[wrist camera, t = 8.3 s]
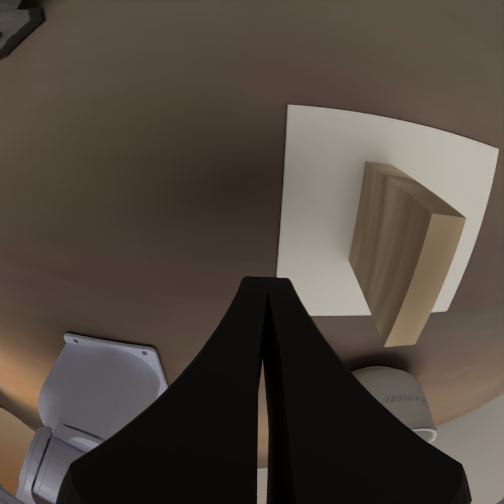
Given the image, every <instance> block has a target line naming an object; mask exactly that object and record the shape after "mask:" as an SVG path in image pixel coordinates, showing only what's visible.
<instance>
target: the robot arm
mask: <svg viewBox="0 0 504 504" xmlns="http://www.w3.org/2000/svg"><path fill="white" fill-rule="evenodd" d="M64 339H65V341H66V344H65V346H64V348H63V350H62V351H61V353H60V355H59V357H58V358H57V360H56V362H55V364H54V366H53V367H52V369H51V371H50V373H49V375H48V377H47V379H46V380H45V382H44V384H43V386H42V389H41V392H40V396H39V414H40V417H41V420H42V422H43V423H44V425H45V427H42V428H38V430H37V431H36V433H35V435H34V438H33V440H32V442H31V444H30V447H29V450H28V453H27V455H26V457H25V460H24V463H23V466H22V470H21V473H20V477H19V481H20V483H19V487H18V490H17V494H16V497H15V496H13V495H12V494H10V493H9V492H7V491H6V490H5V489H4V488H3V486H2V485H1V484H0V504H257V448H258V391H259V383H260V375H261V367H262V359H263V366H264V377H265V389H266V400H267V412H268V428H269V443H268V480H267V503H266V504H470V503H471V501H472V499H471V494H470V489H469V485H468V481H467V477H466V474H465V471H464V469H463V466H462V464H461V463H459V462H458V461H456V460H454V459H453V458H451V457H450V456H448V455H446V454H445V453H443V452H442V451H440V450H439V449H437V448H435V447H434V446H432V445H431V444H429V443H428V442H426V441H425V440H424V439H422V438H421V437H420V436H419V435H417V434H416V433H415V432H413V431H412V430H411V429H410V428H408V427H407V426H406V425H404V424H403V423H402V422H401V421H400V420H399V419H398V418H397V417H396V416H394V415H393V414H392V413H391V412H390V411H389V410H388V409H387V408H386V407H384V406H383V405H382V404H381V403H380V402H379V401H378V400H377V399H376V398H375V397H374V396H373V395H372V394H371V393H370V392H369V391H368V390H367V389H366V388H365V387H364V386H363V385H362V384H361V383H360V382H359V381H358V379H357V378H356V377H355V376H354V375H353V374H352V373H351V371H350V370H349V369H348V368H347V367H346V366H345V364H344V363H343V362H342V361H341V359H340V358H339V357H338V356H337V354H336V353H335V352H334V350H333V349H332V348H331V346H330V345H329V344H328V342H327V341H326V339H325V338H324V337H323V335H322V334H321V332H320V331H319V329H318V328H317V326H316V325H315V323H314V321H313V320H312V318H311V317H310V315H309V314H308V312H307V310H306V309H305V307H304V305H303V303H302V302H301V300H300V298H299V296H298V294H297V292H296V290H295V288H294V286H293V284H292V282H291V280H290V279H289V278H277V277H250V276H246V277H244V278H243V279H242V280H241V284H240V286H239V289H238V291H237V293H236V295H235V297H234V299H233V301H232V303H231V305H230V307H229V309H228V310H227V312H226V314H225V315H224V317H223V319H222V320H221V322H220V324H219V325H218V327H217V328H216V330H215V331H214V333H213V334H212V335H211V337H210V338H209V340H208V341H207V342H206V344H205V345H204V347H203V348H202V349H201V351H200V352H199V353H198V354H197V356H196V357H195V358H194V360H193V361H192V362H191V363H190V364H189V365H188V367H187V368H186V369H185V370H184V371H183V372H182V374H181V375H180V376H179V377H178V378H177V379H176V380H175V381H174V382H173V383H172V384H171V385H170V386H169V387H168V384H167V382H166V379H165V376H164V372H163V369H162V366H161V363H160V360H159V357H158V353H157V351H156V350H155V349H154V348H152V347H147V346H139V345H132V344H125V343H119V342H113V341H107V340H101V339H96V338H90V337H85V336H80V335H75V334H70V333H65V335H64ZM51 432H53V434H52V433H51ZM497 504H504V497H503V500H501V501H500V502H498V503H497Z"/></svg>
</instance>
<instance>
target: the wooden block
mask: <svg viewBox="0 0 504 504" xmlns="http://www.w3.org/2000/svg"><path fill="white" fill-rule="evenodd" d="M465 221H466V217H465V216H463V215H462V214H461V213H460V212H458V211H457V210H456V209H454V208H453V207H452V206H451V205H449V204H448V203H447V202H445V201H444V200H443V199H441V198H440V197H439V196H437V195H436V194H434V193H433V192H432V191H430V190H429V189H427V188H426V187H425V186H423V185H422V184H420V183H419V182H417V181H416V180H415V179H413V178H412V177H410V176H409V175H407V174H406V173H404V172H403V171H401V170H399V169H398V168H396V167H395V166H393V165H390V164H384V163H377V162H369V161H365V167H364V174H363V181H362V187H361V194H360V200H359V206H358V211H357V217H356V222H355V228H354V233H353V238H352V243H351V248H350V252H349V257H348V261H349V263H350V265H351V268H352V270H353V272H354V274H355V277H356V279H357V281H358V284H359V286H360V288H361V291H362V293H363V295H364V298H365V300H366V303H367V305H368V307H369V310H370V312H371V315H372V317H373V320H374V322H375V325H376V328H377V330H378V333H379V335H380V338H381V341H382V343H383V346H384V347H392V346H404V345H414V344H415V343H416V341H417V339H418V338H419V336H420V334H421V332H422V330H423V328H424V326H425V324H426V322H427V320H428V317H429V315H430V313H431V311H432V309H433V307H434V305H435V302H436V300H437V298H438V296H439V293H440V291H441V289H442V286H443V284H444V281H445V279H446V276H447V274H448V271H449V269H450V266H451V263H452V261H453V258H454V255H455V252H456V249H457V247H458V244H459V241H460V238H461V234H462V231H463V228H464V225H465Z"/></svg>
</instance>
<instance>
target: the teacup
mask: <svg viewBox="0 0 504 504" xmlns="http://www.w3.org/2000/svg"><path fill="white" fill-rule="evenodd" d="M351 373H352V374H353V375H354V376H355V377H356V378H357V379H358V381H359V382H360V383H361V384H362V385H363V386H364V387H365V388H366V389H367V390H368V391H369V392H370V393H371V394H372V395H373V396H374V397H375V398H376V399H377V400H378V401H379V402H380V403H381V404H382V405H383V406H384V407H386V408H387V409H388V410H389V411H390V412H391V413H392V414H393V415H394V416H396V417H397V418H398V419H399V420H400V421H401V422H402V423H403V424H404V425H406V426H407V427H408V428H410V429H411V430H412V431H413V432H415V433H416V434H417V435H419V436H420V437H421V438H422V439H424V440H425V441H426V442H428V443H429V444H430V443H432V442H433V441H434V439H435V438H436V436H437V433H438V432H437V429H436V428H435V427H434V423H433V420H432V416H431V412H430V409H429V406H428V403H427V400H426V397H425V394H424V392H423V390H422V387H421V386H420V384H419V382H418V381H417V380H416V378H415V377H413V376H412V375H411V374H409V373H407V372H405V371H402V370H398V369H393V368H390V367H385V366H371V367H366V368H362V369H358V370H355V371H353V372H351Z"/></svg>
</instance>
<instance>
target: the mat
mask: <svg viewBox="0 0 504 504" xmlns="http://www.w3.org/2000/svg"><path fill="white" fill-rule="evenodd" d="M498 151H499V149H497V148H494V147H492V146H489V145H486V144H483V143H481V142H478V141H475V140H472V139H469V138H466V137H462V136H459V135H456V134H453V133H449V132H446V131H442V130H439V129H435V128H431V127H427V126H423V125H419V124H415V123H411V122H407V121H402V120H397V119H393V118H388V117H382V116H377V115H372V114H366V113H360V112H353V111H346V110H339V109H331V108H322V107H313V106H302V105H289V104H287V123H286V142H285V160H284V176H283V192H282V207H281V221H280V234H279V247H278V260H277V272H276V277H277V278H289V279H290V280H291V282H292V284H293V286H294V288H295V290H296V292H297V294H298V296H299V298H300V300H301V302H302V303H303V305H304V307H305V309H306V310H307V312H308V314H309V315H310V316H346V315H371V312H370V310H369V307H368V305H367V303H366V300H365V298H364V295H363V293H362V291H361V288H360V286H359V284H358V281H357V279H356V277H355V274H354V272H353V270H352V268H351V265H350V263H349V261H348V257H349V252H350V248H351V243H352V238H353V233H354V228H355V222H356V217H357V211H358V206H359V200H360V194H361V187H362V181H363V174H364V167H365V161H369V162H377V163H384V164H390V165H393V166H395V167H396V168H398V169H399V170H401V171H403V172H404V173H406V174H407V175H409V176H410V177H412V178H413V179H415V180H416V181H417V182H419V183H420V184H422V185H423V186H425V187H426V188H427V189H429V190H430V191H432V192H433V193H434V194H436V195H437V196H439V197H440V198H441V199H443V200H444V201H445V202H447V203H448V204H449V205H451V206H452V207H453V208H454V209H456V210H457V211H458V212H460V213H461V214H462V215H463V216H465V217H466V221H465V225H464V228H463V231H462V234H461V238H460V241H459V244H458V247H457V249H456V252H455V255H454V258H453V261H452V263H451V266H450V269H449V271H448V274H447V276H446V279H445V281H444V284H443V286H442V289H441V291H440V293H439V296H438V298H437V300H436V302H435V305H434V307H433V309H432V311H431V312H443V311H447V309H448V307H449V305H450V303H451V301H452V299H453V297H454V294H455V292H456V290H457V288H458V285H459V283H460V281H461V278H462V276H463V273H464V271H465V268H466V266H467V263H468V261H469V258H470V255H471V253H472V250H473V247H474V244H475V241H476V238H477V235H478V232H479V229H480V226H481V223H482V220H483V216H484V213H485V209H486V206H487V202H488V198H489V194H490V190H491V186H492V181H493V177H494V172H495V167H496V162H497V157H498Z"/></svg>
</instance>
